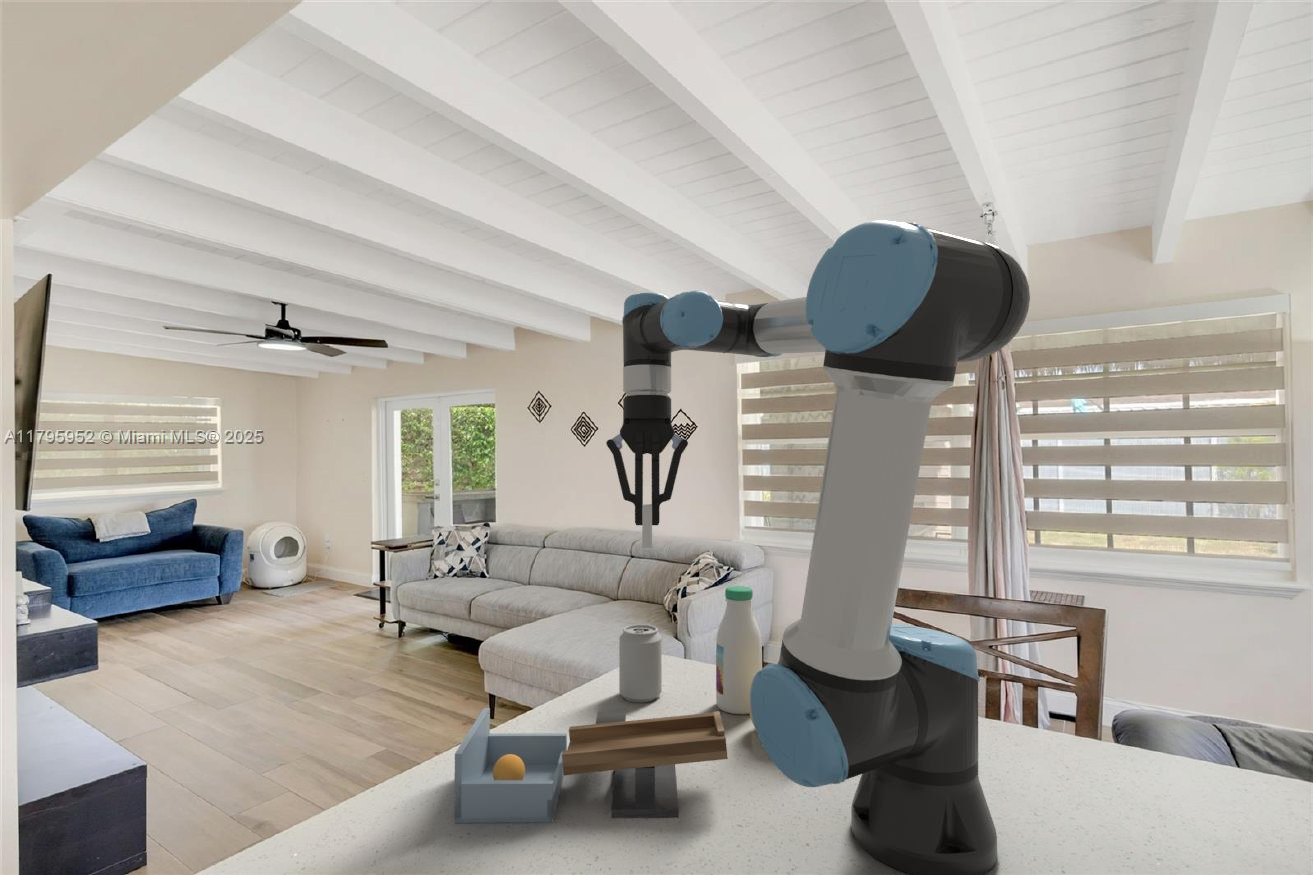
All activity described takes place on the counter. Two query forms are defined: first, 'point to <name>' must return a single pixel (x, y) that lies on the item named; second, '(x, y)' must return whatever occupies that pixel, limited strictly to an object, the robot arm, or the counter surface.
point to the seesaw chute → (643, 742)
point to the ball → (509, 768)
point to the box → (507, 798)
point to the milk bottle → (737, 651)
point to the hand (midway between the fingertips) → (647, 546)
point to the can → (640, 663)
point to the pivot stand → (645, 793)
